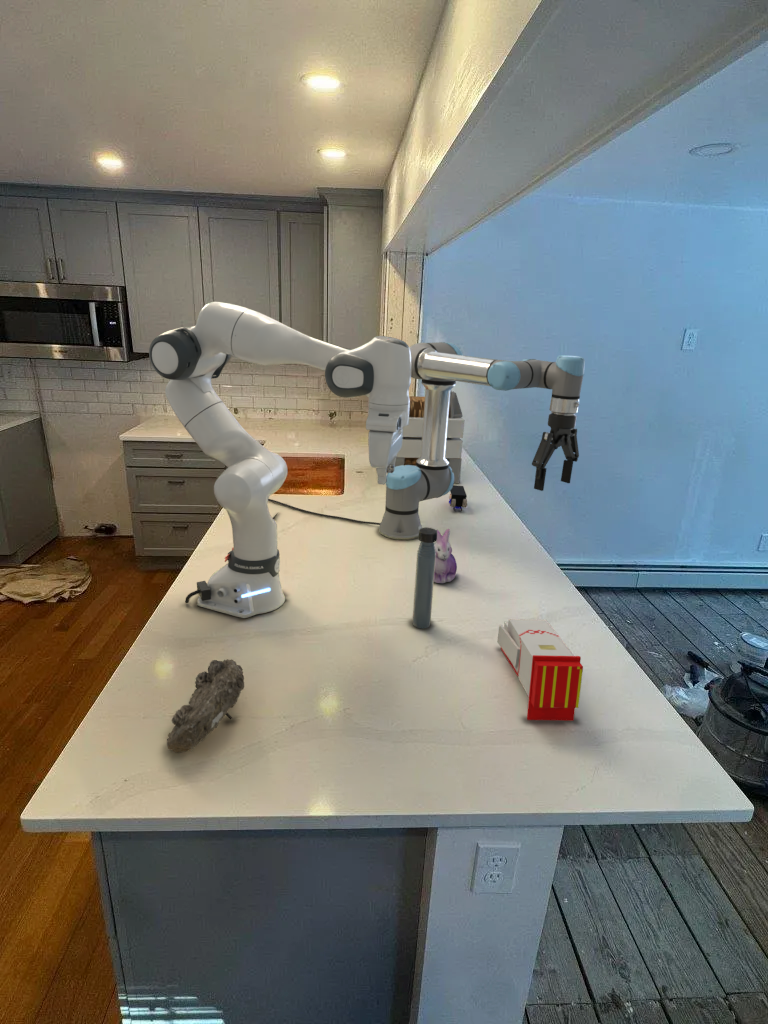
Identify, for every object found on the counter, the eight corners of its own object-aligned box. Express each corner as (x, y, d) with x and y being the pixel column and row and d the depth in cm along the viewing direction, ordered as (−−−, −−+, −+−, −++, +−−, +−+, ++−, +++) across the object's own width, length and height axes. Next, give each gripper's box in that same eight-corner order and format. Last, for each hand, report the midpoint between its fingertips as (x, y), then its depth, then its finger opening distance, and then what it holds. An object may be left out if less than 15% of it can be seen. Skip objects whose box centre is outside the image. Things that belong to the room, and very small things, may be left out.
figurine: (438, 587, 162) (442, 538, 157) (419, 572, 171) (423, 526, 166) (465, 581, 166) (470, 534, 161) (446, 567, 175) (450, 522, 170)
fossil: (192, 660, 117) (244, 628, 112) (224, 691, 120) (276, 661, 115) (142, 746, 98) (202, 712, 93) (182, 779, 101) (242, 748, 96)
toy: (543, 604, 136) (592, 662, 106) (538, 656, 138) (584, 727, 109) (493, 603, 135) (528, 661, 106) (489, 655, 138) (522, 726, 109)
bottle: (419, 617, 146) (426, 527, 138) (433, 623, 144) (441, 532, 135) (408, 623, 143) (414, 532, 135) (423, 630, 140) (430, 537, 132)
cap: (425, 534, 139) (426, 526, 138) (440, 539, 136) (441, 530, 135) (414, 539, 135) (415, 530, 135) (429, 544, 133) (430, 535, 132)
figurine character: (467, 516, 223) (461, 500, 237) (469, 499, 220) (463, 483, 233) (450, 516, 223) (446, 499, 236) (452, 498, 220) (447, 483, 233)
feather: (285, 507, 224) (287, 503, 224) (267, 531, 198) (270, 526, 197) (281, 504, 224) (284, 500, 223) (263, 528, 197) (265, 524, 197)
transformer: (382, 463, 289) (386, 382, 275) (445, 464, 293) (451, 384, 279) (390, 482, 257) (394, 392, 243) (460, 483, 261) (468, 394, 247)
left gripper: (383, 407, 132) (381, 464, 136) (363, 423, 113) (362, 489, 118) (410, 409, 131) (407, 467, 135) (395, 425, 112) (392, 492, 116)
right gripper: (548, 419, 148) (537, 496, 155) (598, 411, 163) (586, 482, 171) (525, 414, 153) (515, 489, 160) (575, 407, 169) (564, 476, 176)
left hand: (386, 477), depth 126 cm, fingers open, 8 cm apart
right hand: (552, 485), depth 166 cm, fingers open, 13 cm apart
